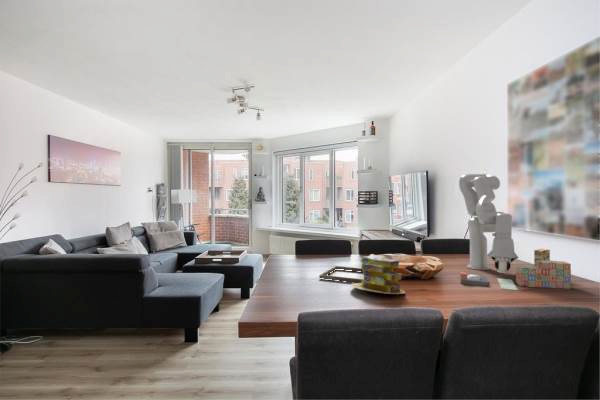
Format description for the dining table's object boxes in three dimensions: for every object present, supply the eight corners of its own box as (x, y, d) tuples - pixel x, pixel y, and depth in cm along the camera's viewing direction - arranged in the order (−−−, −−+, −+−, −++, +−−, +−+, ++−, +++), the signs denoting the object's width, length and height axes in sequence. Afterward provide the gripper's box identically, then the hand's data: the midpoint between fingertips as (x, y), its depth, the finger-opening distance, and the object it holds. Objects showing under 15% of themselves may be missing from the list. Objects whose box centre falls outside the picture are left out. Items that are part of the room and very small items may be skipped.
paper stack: (373, 282, 172) (373, 250, 172) (415, 293, 153) (415, 257, 153) (340, 291, 157) (339, 256, 157) (382, 304, 138) (382, 264, 138)
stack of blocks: (521, 286, 163) (521, 261, 163) (515, 283, 169) (515, 259, 169) (571, 288, 158) (571, 263, 158) (563, 285, 164) (563, 260, 164)
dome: (466, 278, 175) (466, 273, 175) (480, 279, 173) (480, 274, 173) (466, 281, 170) (466, 276, 170) (480, 282, 167) (480, 277, 167)
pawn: (496, 270, 183) (496, 254, 183) (507, 271, 181) (507, 255, 181) (497, 272, 179) (497, 256, 178) (508, 273, 177) (508, 257, 176)
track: (497, 279, 177) (497, 278, 177) (511, 280, 174) (511, 279, 174) (501, 289, 158) (501, 288, 158) (517, 290, 155) (517, 289, 155)
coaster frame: (335, 270, 202) (335, 265, 202) (378, 274, 191) (378, 269, 191) (319, 279, 179) (319, 275, 179) (366, 285, 167) (366, 280, 167)
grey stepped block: (460, 278, 179) (460, 268, 179) (486, 280, 174) (485, 270, 174) (460, 283, 168) (460, 272, 168) (487, 286, 163) (487, 275, 163)
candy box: (542, 279, 175) (542, 251, 175) (533, 278, 179) (533, 249, 179) (550, 277, 180) (550, 249, 180) (541, 275, 184) (541, 248, 184)
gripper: (485, 236, 179) (485, 269, 180) (522, 238, 172) (522, 272, 173) (485, 234, 186) (484, 266, 187) (520, 236, 179) (519, 269, 180)
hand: (502, 268), depth 180 cm, fingers closed on pawn, 4 cm apart
